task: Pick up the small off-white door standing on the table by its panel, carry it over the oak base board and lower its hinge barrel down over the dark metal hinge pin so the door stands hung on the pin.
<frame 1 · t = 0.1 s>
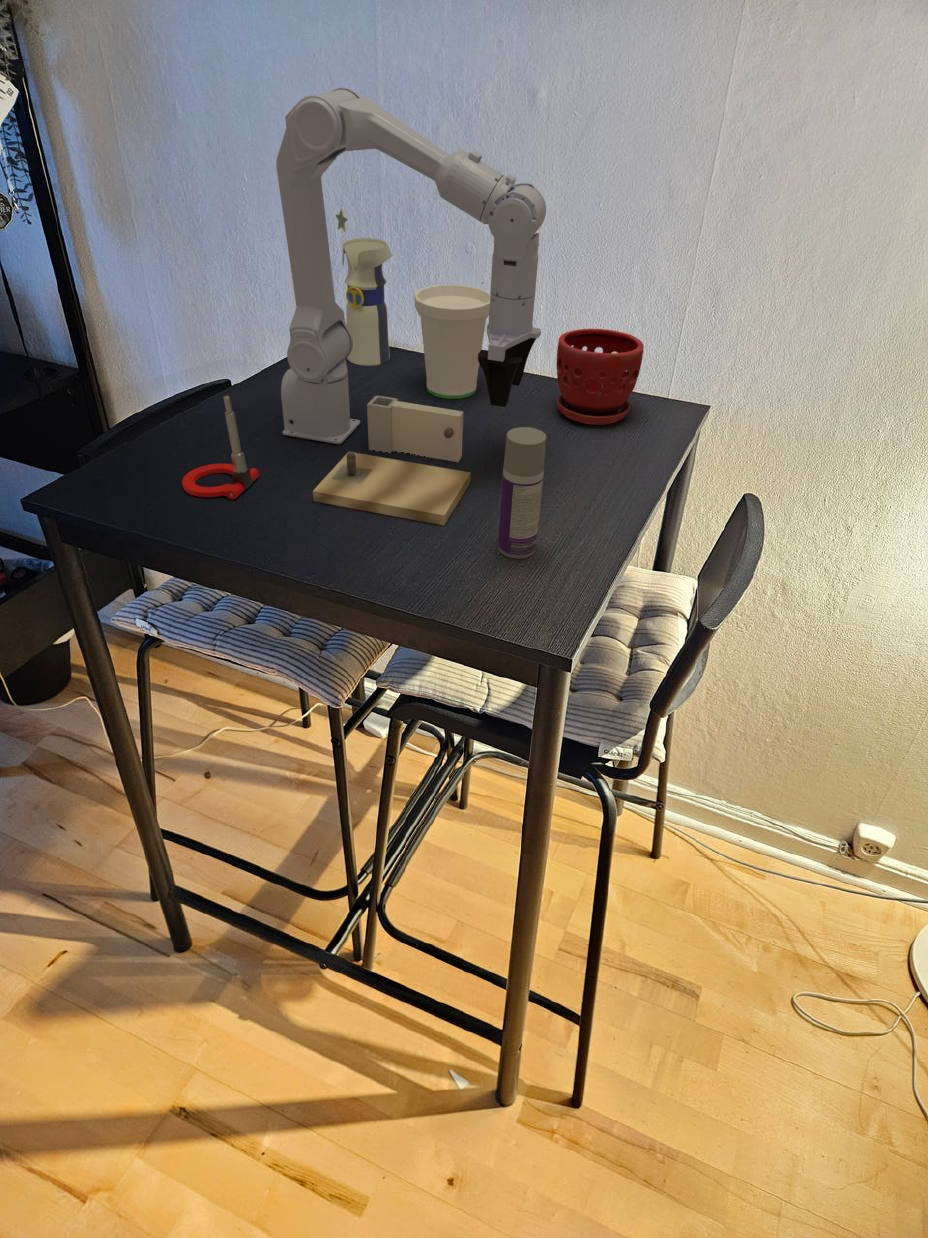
hand: (505, 394, 115), 10 cm above the table, tool pointing down, fingers open, 7 cm apart
container: (516, 549, 103), on the table
tow hook: (218, 485, 113), on the table
base board: (393, 491, 112), on the table
cup: (451, 390, 141), on the table
door: (383, 446, 123), on the table
cream spray bottle: (369, 359, 150), on the table
plant pot: (591, 414, 135), on the table
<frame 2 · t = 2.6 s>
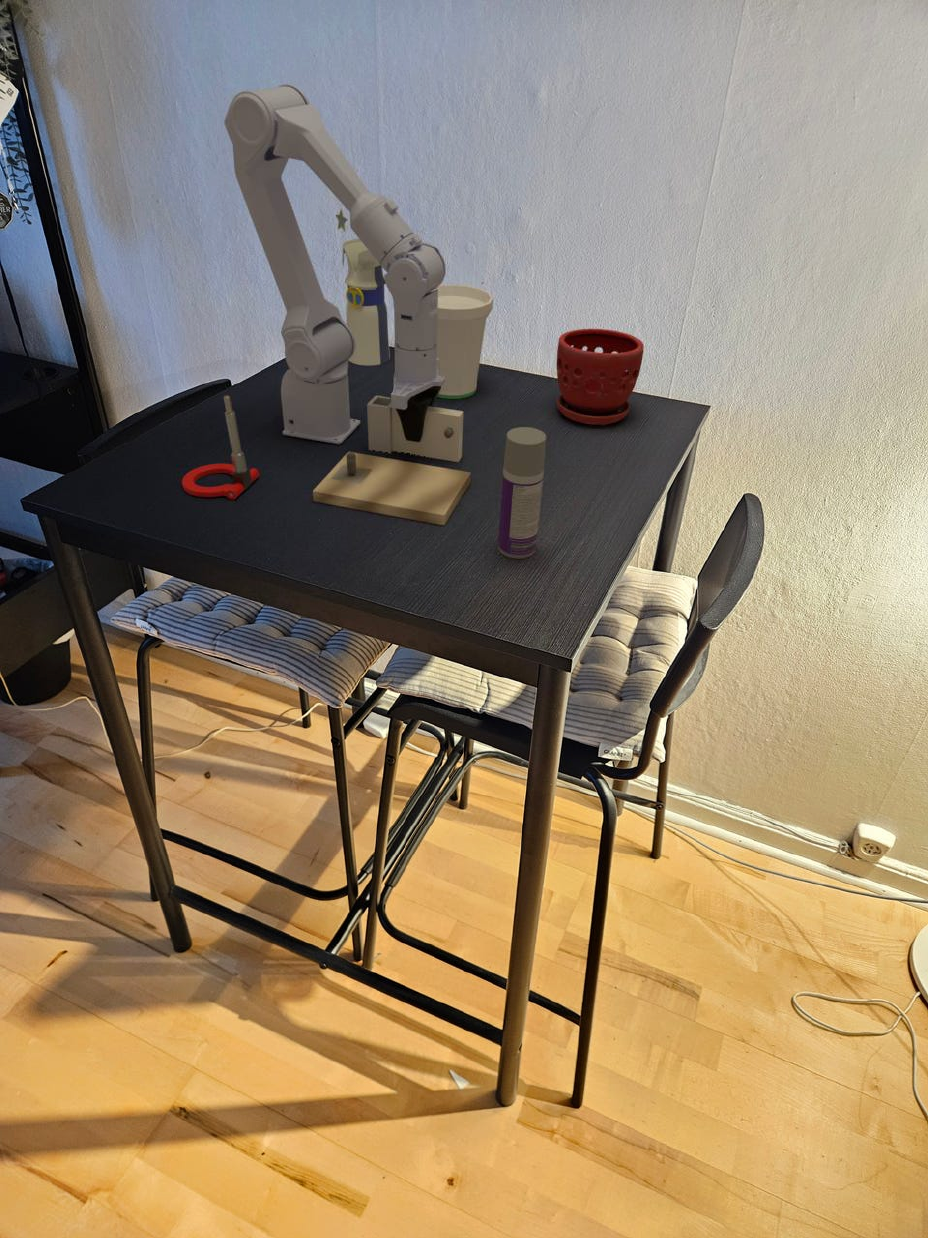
hand: (416, 436, 120), 2 cm above the table, tool pointing down, fingers closed on door, 2 cm apart
door: (383, 446, 123), on the table, touching gripper
everything else where it was.
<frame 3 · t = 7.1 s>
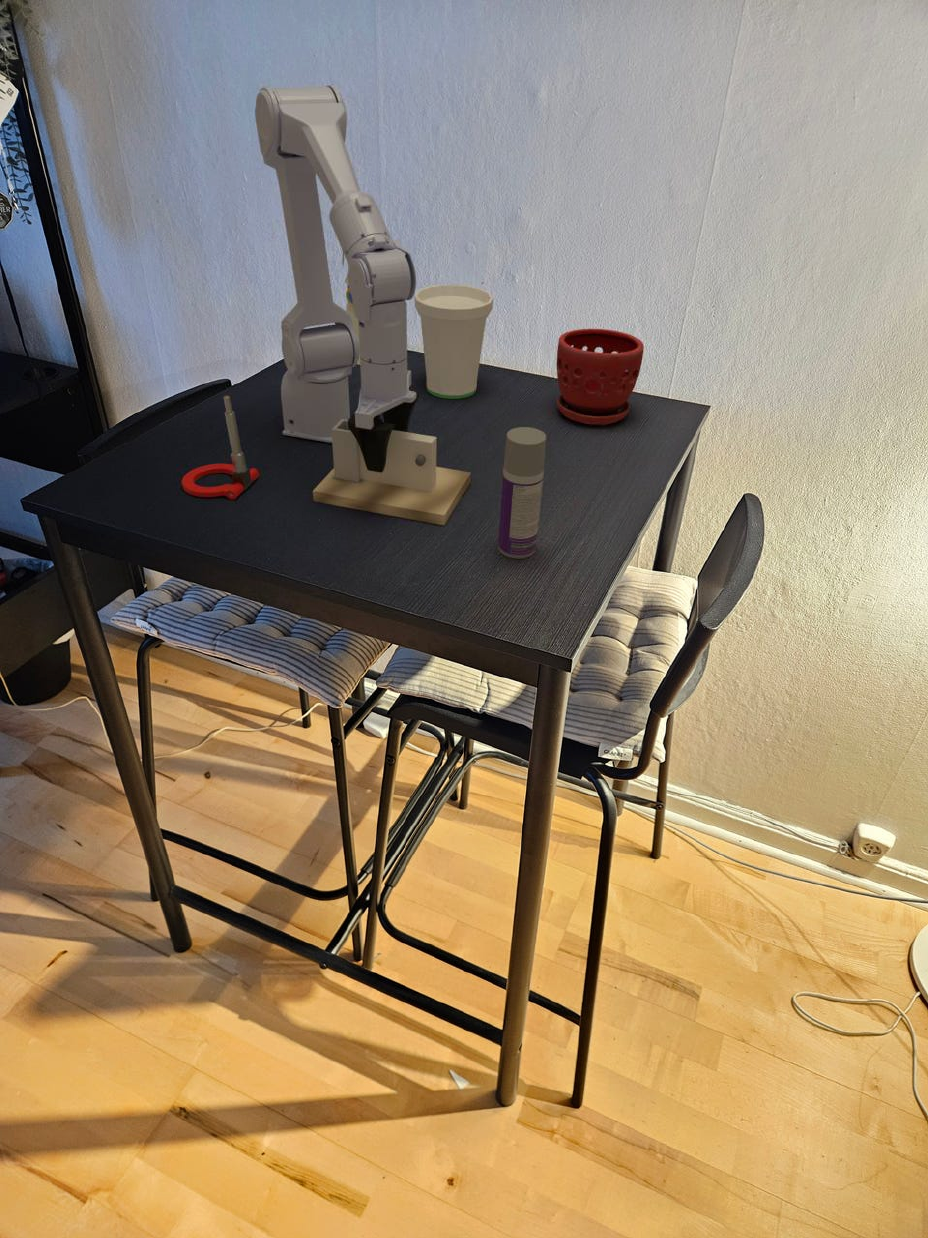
hand: (386, 457, 110), 5 cm above the table, tool pointing down, fingers open, 7 cm apart
door: (351, 474, 113), point 1 cm above the table, touching base board
everything else where it was.
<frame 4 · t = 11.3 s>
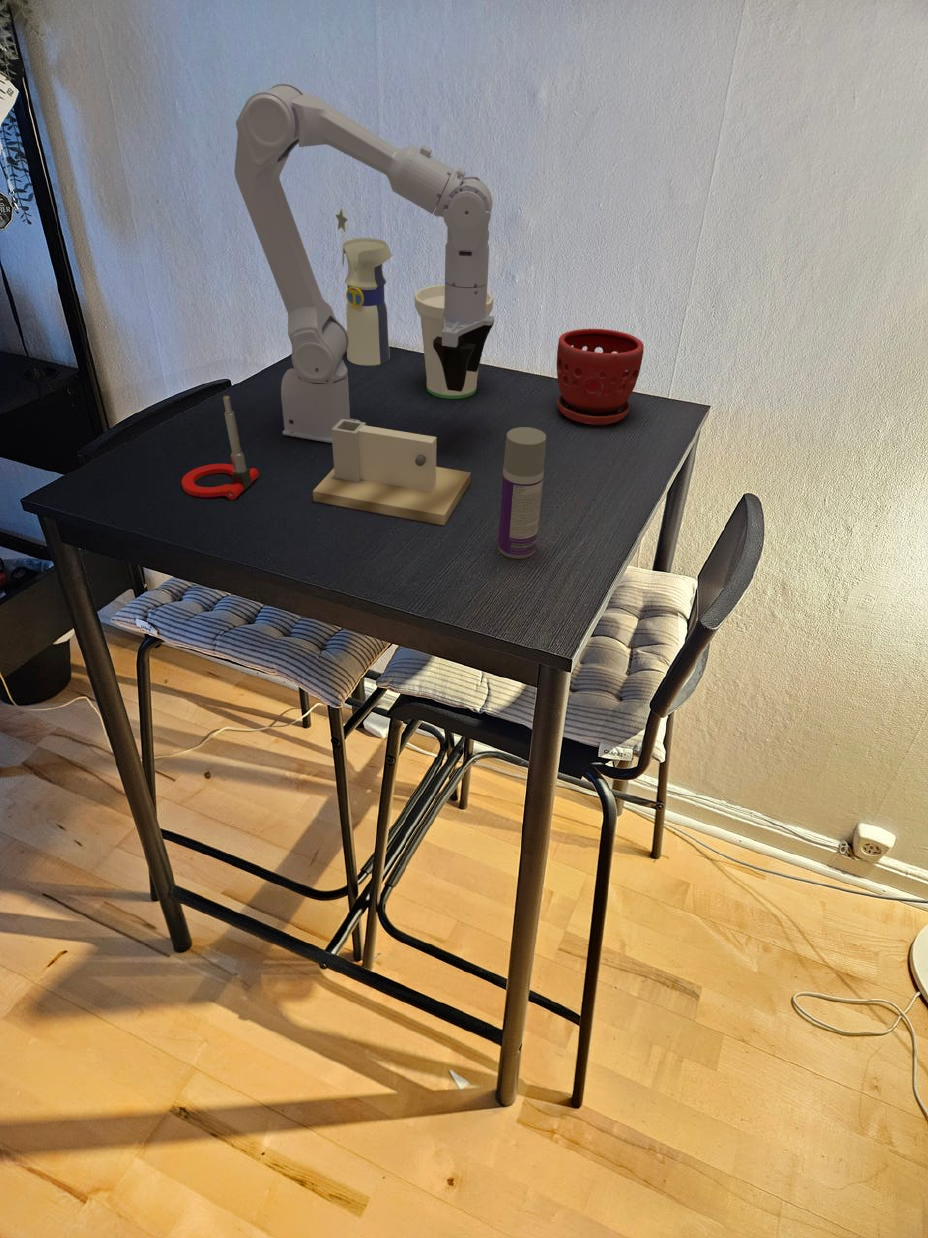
hand: (462, 379, 120), 9 cm above the table, tool pointing down, fingers open, 7 cm apart
nothing on the table moved.
at the end: door 0.1 cm from the target spot on the base board, point 1.5 cm above the base board's base; door tilted 0°; the gripper is holding nothing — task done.
